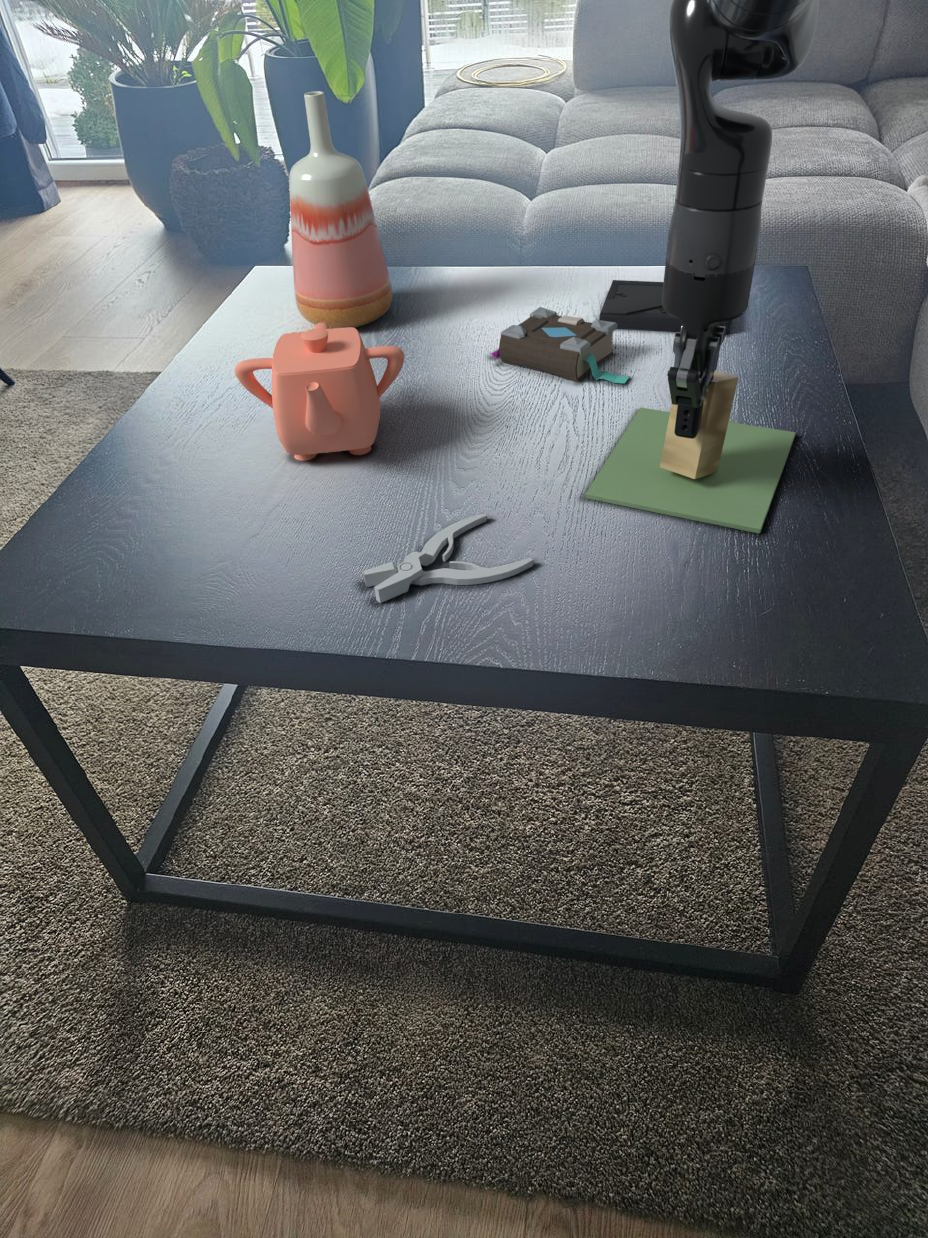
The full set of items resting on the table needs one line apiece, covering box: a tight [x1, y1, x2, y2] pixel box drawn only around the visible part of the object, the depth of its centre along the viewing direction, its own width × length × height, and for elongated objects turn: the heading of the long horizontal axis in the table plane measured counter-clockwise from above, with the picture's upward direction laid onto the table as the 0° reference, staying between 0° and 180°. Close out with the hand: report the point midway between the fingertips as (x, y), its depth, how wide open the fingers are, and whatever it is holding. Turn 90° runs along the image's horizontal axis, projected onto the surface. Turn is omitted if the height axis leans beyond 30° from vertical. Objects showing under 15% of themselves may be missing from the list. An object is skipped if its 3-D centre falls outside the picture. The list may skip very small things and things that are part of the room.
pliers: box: [363, 512, 534, 604], centre depth 82 cm, size 10×2×15 cm
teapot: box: [234, 323, 405, 462], centre depth 98 cm, size 17×16×13 cm
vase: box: [288, 90, 393, 329], centre depth 121 cm, size 14×14×30 cm
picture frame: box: [598, 279, 731, 335], centre depth 124 cm, size 13×2×18 cm
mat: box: [584, 407, 797, 535], centre depth 93 cm, size 18×20×1 cm
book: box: [490, 306, 630, 384], centre depth 114 cm, size 20×12×5 cm, turn 54°
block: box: [660, 370, 739, 479], centre depth 88 cm, size 4×4×10 cm
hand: (686, 434), depth 85 cm, fingers closed
